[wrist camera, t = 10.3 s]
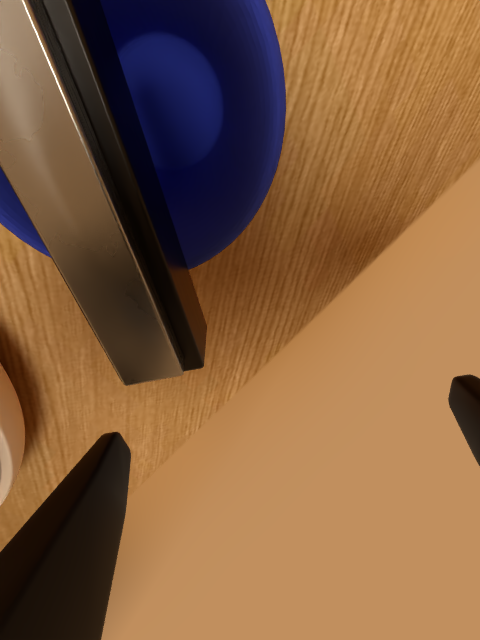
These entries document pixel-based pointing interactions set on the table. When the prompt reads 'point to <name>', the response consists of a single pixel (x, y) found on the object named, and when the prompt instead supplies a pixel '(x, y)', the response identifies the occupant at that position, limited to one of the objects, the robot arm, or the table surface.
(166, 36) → the mug
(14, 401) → the bowl
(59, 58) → the black and silver bar
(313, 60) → the table surface
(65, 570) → the robot arm
